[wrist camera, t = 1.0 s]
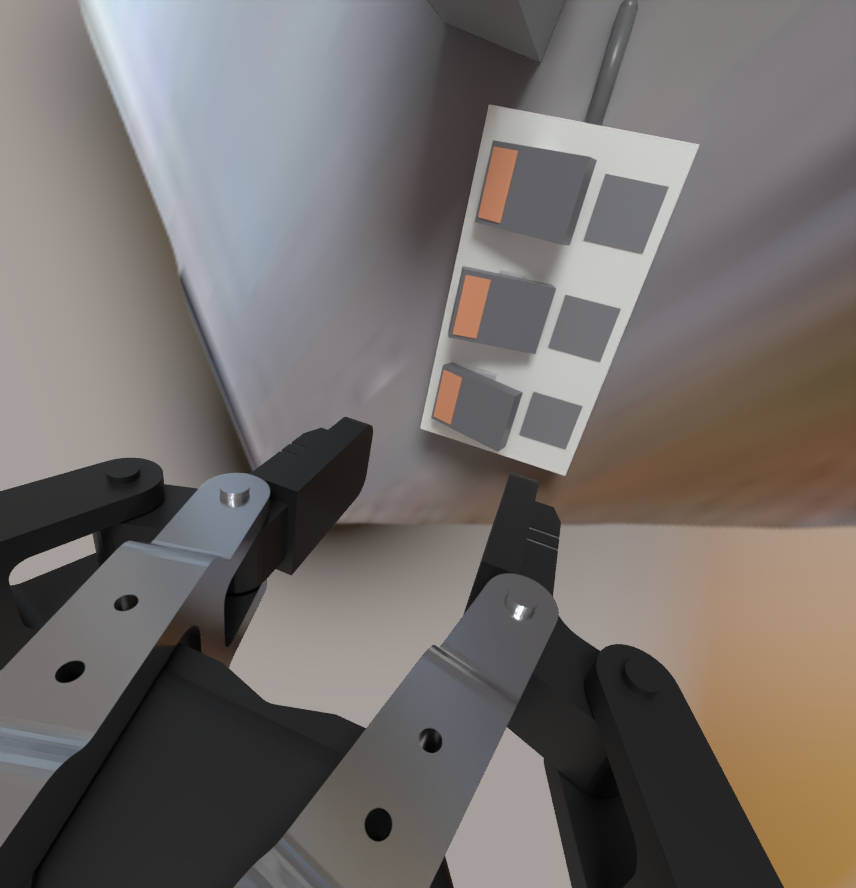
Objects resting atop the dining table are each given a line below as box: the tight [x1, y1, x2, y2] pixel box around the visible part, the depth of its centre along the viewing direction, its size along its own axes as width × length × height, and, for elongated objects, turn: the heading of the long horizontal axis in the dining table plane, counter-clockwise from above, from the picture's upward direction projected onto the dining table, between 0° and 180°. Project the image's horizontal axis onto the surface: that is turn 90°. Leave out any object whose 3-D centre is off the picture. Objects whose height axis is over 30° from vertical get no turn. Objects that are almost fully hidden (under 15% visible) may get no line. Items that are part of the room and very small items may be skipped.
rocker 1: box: [475, 140, 597, 245], centre depth 28 cm, size 6×4×1 cm
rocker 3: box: [431, 362, 523, 452], centre depth 34 cm, size 6×4×1 cm
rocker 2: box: [448, 266, 556, 354], centre depth 31 cm, size 6×4×1 cm
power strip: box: [420, 0, 699, 476], centre depth 32 cm, size 12×28×5 cm, turn 168°
